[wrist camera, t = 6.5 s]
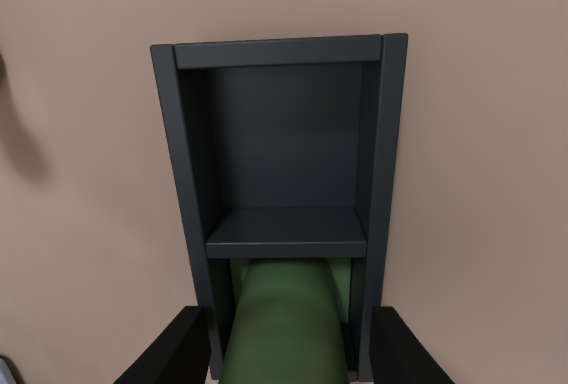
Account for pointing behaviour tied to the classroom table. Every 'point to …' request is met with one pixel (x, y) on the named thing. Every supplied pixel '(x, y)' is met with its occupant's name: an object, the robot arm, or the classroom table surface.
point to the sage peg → (286, 326)
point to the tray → (285, 166)
